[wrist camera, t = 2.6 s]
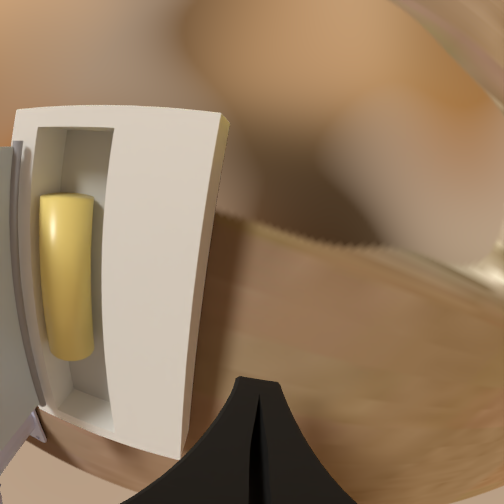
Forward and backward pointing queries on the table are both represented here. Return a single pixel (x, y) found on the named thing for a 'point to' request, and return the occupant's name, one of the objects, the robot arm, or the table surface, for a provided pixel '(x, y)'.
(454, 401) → the table surface
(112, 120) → the white sliding drawer case
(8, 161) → the cover
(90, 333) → the yellow rounded bar
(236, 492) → the robot arm
